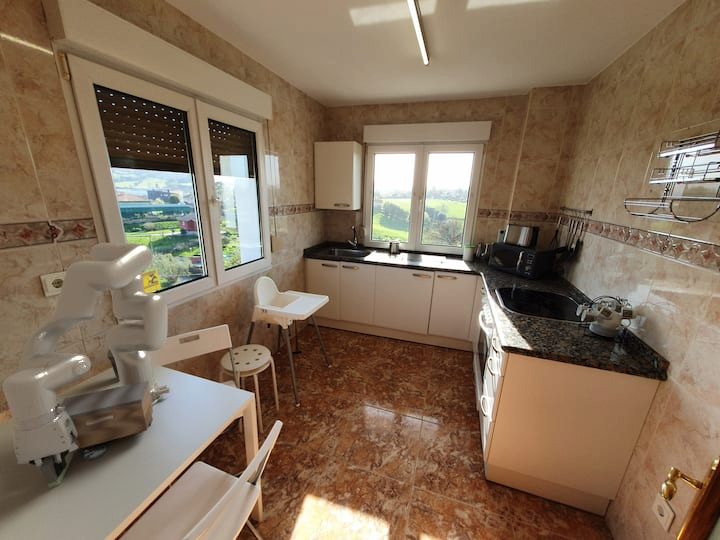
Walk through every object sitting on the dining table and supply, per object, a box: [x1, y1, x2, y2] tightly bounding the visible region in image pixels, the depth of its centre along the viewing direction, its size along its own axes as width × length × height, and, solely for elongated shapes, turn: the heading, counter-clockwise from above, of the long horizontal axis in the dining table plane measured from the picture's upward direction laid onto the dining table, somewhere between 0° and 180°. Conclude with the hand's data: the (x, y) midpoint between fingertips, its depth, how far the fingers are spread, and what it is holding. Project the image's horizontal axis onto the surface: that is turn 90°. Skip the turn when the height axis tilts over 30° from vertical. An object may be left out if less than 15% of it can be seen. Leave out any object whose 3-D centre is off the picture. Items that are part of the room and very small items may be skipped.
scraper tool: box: [39, 450, 76, 489], centre depth 77 cm, size 2×10×8 cm, turn 26°
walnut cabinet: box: [60, 381, 154, 450], centre depth 86 cm, size 21×10×15 cm, turn 116°
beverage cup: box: [107, 348, 120, 382], centre depth 115 cm, size 7×7×20 cm
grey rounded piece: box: [83, 442, 108, 462], centre depth 83 cm, size 5×5×2 cm
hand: (56, 472), depth 75 cm, fingers closed on scraper tool, 1 cm apart
